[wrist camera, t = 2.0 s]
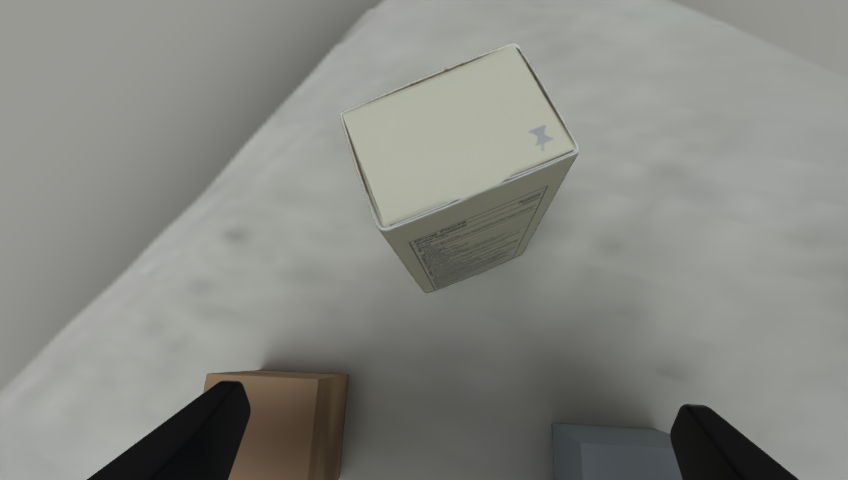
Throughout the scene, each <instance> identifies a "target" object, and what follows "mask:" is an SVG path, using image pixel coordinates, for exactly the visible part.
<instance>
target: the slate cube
mask: <svg viewBox="0 0 848 480" xmlns="http://www.w3.org/2000/svg"><path fill="white" fill-rule="evenodd" d="M552 438H553V461H554V480H683V479H682V476H681V473H680V470H679V466H678V463H677V460H676V457H675V453H674V450H673V447H672V444H671V439H670V434H667V433H665V432H662V431H659V430H656V429H644V428H627V427H610V426H592V425H575V424H557V423H552Z"/></svg>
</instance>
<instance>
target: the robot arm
mask: <svg viewBox="0 0 848 480" xmlns="http://www.w3.org/2000/svg"><path fill="white" fill-rule="evenodd" d="M250 413H251V406H250V403H249V400H248V397H247V394H246V391H245V388H244V386H243V384H242V383H241V382H240V381H234V380H223V381H220V382H218V383H217V384H215V385H214V386H213V387H211V388H210V389H209V390H207V391H206V392H205V393H203V394H202V395H200V396H199V397H198V398H196V399H195V400H194V401H192V402H191V403H190V404H188V405H187V406H186V407H184V408H183V409H182V410H180V411H179V412H178V413H176V414H175V415H174V416H172V417H171V418H169V419H168V420H167V421H165V422H164V423H163V424H161V425H160V426H159V427H157V428H156V429H155V430H153V431H152V432H151V433H149V434H148V435H147V436H145V437H144V438H143V439H141V440H140V441H138V442H137V443H136V444H134V445H133V446H132V447H130V448H129V449H128V450H126V451H125V452H124V453H122V454H121V455H120V456H118V457H117V458H116V459H114V460H113V461H112V462H110V463H109V464H107V465H106V466H105V467H103V468H102V469H101V470H99V471H98V472H97V473H95V474H94V475H93V476H91V477H90V478H89V479H87V480H228V479H229V476H230V473H231V470H232V467H233V464H234V461H235V459H236V456H237V453H238V450H239V447H240V444H241V441H242V438H243V435H244V433H245V430H246V427H247V424H248V421H249V418H250ZM670 439H671V444H672V447H673V450H674V453H675V457H676V460H677V463H678V466H679V470H680V473H681V476H682V479H683V480H798V479H797V478H796V477H795V476H793V475H792V474H791V473H790V472H789V471H787V470H786V469H785V468H784V467H782V466H781V465H780V464H779V463H777V462H776V461H775V460H774V459H772V458H771V457H770V456H769V455H768V454H766V453H765V452H764V451H763V450H761V449H760V448H759V447H758V446H756V445H755V444H754V443H753V442H751V441H750V440H749V439H748V438H747V437H745V436H744V435H743V434H742V433H740V432H739V431H738V430H737V429H735V428H734V427H733V426H732V425H730V424H729V423H728V422H727V421H726V420H724V419H723V418H722V417H721V416H719V415H718V414H717V413H716V412H714V411H713V410H712V409H710V408H709V407H707V406H704V405H693V404H684V405H683V406H681V407H680V409H679V412H678V414H677V417H676V419H675V421H674V424H673V426H672V429H671V433H670Z"/></svg>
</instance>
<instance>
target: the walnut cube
mask: <svg viewBox="0 0 848 480" xmlns="http://www.w3.org/2000/svg"><path fill="white" fill-rule="evenodd" d="M223 380H234V381H240V382H241V383H242V384H243V386H244V388H245V391H246V394H247V397H248V400H249V403H250V406H251V413H250V418H249V421H248V424H247V427H246V430H245V433H244V435H243V438H242V441H241V444H240V447H239V450H238V453H237V456H236V459H235V461H234V464H233V467H232V470H231V473H230V476H229V479H228V480H338V479H339V474H340V463H341V452H342V441H343V430H344V419H345V408H346V397H347V386H348V374H328V373H307V372H287V371H267V370H256V371H241V372H226V373H211V374H207V376H206V381H205V387H204V392H203V393H205V392H206V391H207V390H209V389H210V388H211V387H213V386H214V385H215V384H217V383H218V382H220V381H223Z"/></svg>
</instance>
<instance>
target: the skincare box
mask: <svg viewBox="0 0 848 480" xmlns="http://www.w3.org/2000/svg"><path fill="white" fill-rule="evenodd" d="M340 121H341V124H342V127H343V130H344V133H345V136H346V139H347V142H348V146H349V149H350V153H351V156H352V159H353V162H354V165H355V168H356V171H357V174H358V177H359V179H360V182H361V185H362V188H363V191H364V194H365V197H366V199H367V202H368V205H369V207H370V210H371V213H372V216H373V219H374V221H375V224H376V226H377V228H378V229H379V231H380V232H381V233H382V235H383V236H384V237H385V239H386V240H387V242H388V243H389V244H390V246H391V247H392V248H393V250H394V251H395V253H396V254H397V255H398V257H399V258H400V259H401V261H402V262H403V264H404V265H405V266H406V268H407V270H408V271H409V272H410V273H411V275H412V276H413V278H414V279H415V281H416V282H417V283H418V285H419V286H420V287H421V289H422V290H423V291H424V292H425V293H428V292H432V291H434V290H437V289H440V288H443V287H445V286H448V285H450V284H453V283H455V282H458V281H461V280H463V279H466V278H468V277H471V276H473V275H475V274H478V273H480V272H483V271H485V270H487V269H490V268H492V267H494V266H497V265H499V264H501V263H503V262H506V261H508V260H510V259H512V258H515V257H517V256H519V255H521V254H522V253H523V251H524V250H525V248H526V246H527V244H528V242H529V241H530V239H531V237H532V235H533V233H534V231H535V230H536V228H537V226H538V224H539V223H540V221H541V219H542V217H543V215H544V214H545V212H546V210H547V208H548V207H549V205H550V203H551V201H552V199H553V198H554V196H555V194H556V192H557V191H558V189H559V187H560V185H561V183H562V182H563V180H564V178H565V176H566V174H567V172H568V171H569V169H570V167H571V165H572V164H573V162H574V160H575V158H576V157H577V155H578V153H579V147H578V145H577V143H576V141H575V139H574V138H573V136H572V135H571V133H570V131H569V129H568V127H567V125H566V123H565V121H564V120H563V118H562V117H561V115H560V113H559V111H558V109H557V107H556V105H555V104H554V102H553V100H552V99H551V97H550V95H549V93H548V92H547V90H546V88H545V86H544V85H543V83H542V81H541V80H540V78H539V76H538V75H537V73H536V71H535V70H534V68H533V67H532V65H531V63H530V62H529V61H528V59H527V58H526V56H525V55H524V53H523V51H522V50H521V48H520V47H519V45H518V44H515V43H513V44H509V45H506V46H504V47H501V48H498V49H494V50H492V51H489V52H487V53H484V54H481V55H478V56H476V57H473V58H470V59H467V60H465V61H463V62H459V63H457V64H455V65H452V66H449V67H447V68H444V69H442V70H440V71H437V72H435V73H432V74H430V75H427V76H425V77H423V78H420V79H418V80H415V81H413V82H410V83H408V84H406V85H403V86H401V87H398V88H396V89H394V90H391V91H389V92H386V93H384V94H382V95H380V96H377V97H375V98H373V99H370V100H368V101H366V102H364V103H362V104H359V105H357V106H355V107H352V108H350V109H348V110H345V111H343V112H341V113H340Z"/></svg>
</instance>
